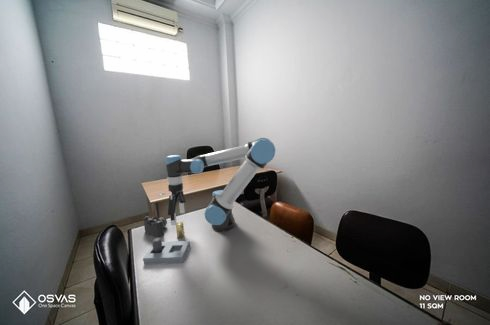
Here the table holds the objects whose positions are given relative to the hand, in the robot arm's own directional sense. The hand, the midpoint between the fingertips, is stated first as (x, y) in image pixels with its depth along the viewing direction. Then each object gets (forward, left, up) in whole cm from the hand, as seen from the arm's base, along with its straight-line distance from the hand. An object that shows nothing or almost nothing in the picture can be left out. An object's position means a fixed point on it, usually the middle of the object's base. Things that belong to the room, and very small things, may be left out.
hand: (178, 218), depth 100 cm
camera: (+16, -7, -12) cm, 21 cm away
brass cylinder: (0, 0, -11) cm, 11 cm away
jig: (+1, +15, -11) cm, 19 cm away
